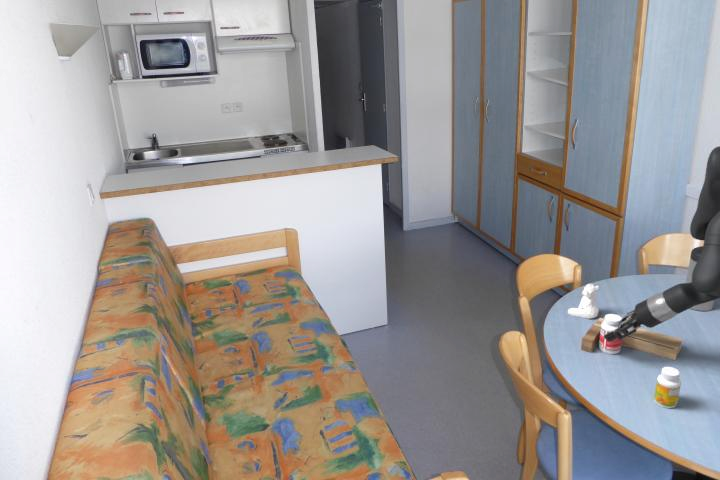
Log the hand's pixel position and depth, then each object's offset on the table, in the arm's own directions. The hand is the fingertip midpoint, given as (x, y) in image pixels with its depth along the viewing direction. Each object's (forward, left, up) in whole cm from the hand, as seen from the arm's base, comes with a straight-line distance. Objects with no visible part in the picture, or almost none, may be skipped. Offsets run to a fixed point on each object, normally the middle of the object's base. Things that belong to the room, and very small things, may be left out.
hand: (610, 332), depth 166 cm
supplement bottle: (+18, +19, -6) cm, 27 cm away
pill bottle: (0, 0, -6) cm, 6 cm away
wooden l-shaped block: (-4, +5, -6) cm, 9 cm away
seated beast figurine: (-17, -13, -6) cm, 22 cm away
